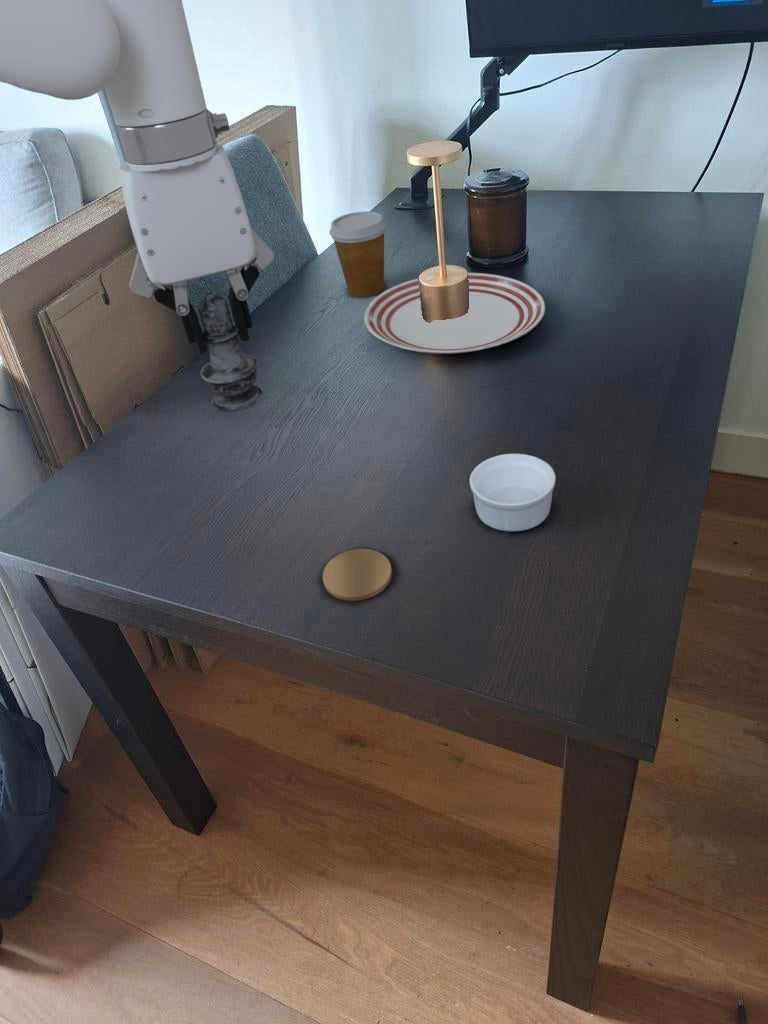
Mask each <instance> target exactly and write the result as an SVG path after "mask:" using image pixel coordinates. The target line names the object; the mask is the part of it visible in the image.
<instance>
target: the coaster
mask: <svg viewBox="0 0 768 1024" xmlns="http://www.w3.org/2000/svg"><path fill="white" fill-rule="evenodd" d="M392 575H393V569H392V565H391V562H390V560H389V559H388V557H387V556H386V555H384V554H383V553H381V552H380V551H377V550H374V549H371V548H354V549H349V550H346V551H343V552H341V553H339V554H337V555H336V556H334V557H332V558H331V559H330V560H329V561H328V562H327V564H326V565H325V566H324V568H323V571H322V583H323V586H324V588H325V590H326V591H327V592H328V593H329V594H330V595H331V596H333V597H334V598H336V599H339V600H343V601H348V602H357V601H363V600H368V599H370V598H372V597H375V596H377V595H378V594H380V593H381V592H382V591H384V590H385V589H386V588H387V586H388V585H389V584H390V582H391V580H392Z"/></svg>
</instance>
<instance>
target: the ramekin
mask: <svg viewBox="0 0 768 1024" xmlns="http://www.w3.org/2000/svg"><path fill="white" fill-rule="evenodd" d="M556 477H557V476H556V473H555V471H554V469H553V467H552V466H551V465H550V464H549V463H548V462H546V461H545V460H543V459H541V458H539V457H538V456H537V457H536V456H534V455H529V454H526V453H505V454H504V453H503V454H499V455H496V456H493V457H490V458H488V459H485V460H484V461H481V462H480V463H479V464H478V465H476V467H475V468H474V469H473V470H472V471H471V473H470V476H469V486H470V490H471V492H472V495H473V502H474V507H475V511H476V514H477V516H478V519H480V521H481V522H482V523H483V524H485V525H486V526H488V527H490V528H493V529H495V530H499V531H502V532H503V531H504V532H522V531H527V530H531V529H533V528H535V527H537V526H539V525H540V524H542V522H544V521H545V520H546V519H547V517H548V516H549V514H550V511H551V507H552V499H553V491H554V489H555V485H556Z"/></svg>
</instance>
